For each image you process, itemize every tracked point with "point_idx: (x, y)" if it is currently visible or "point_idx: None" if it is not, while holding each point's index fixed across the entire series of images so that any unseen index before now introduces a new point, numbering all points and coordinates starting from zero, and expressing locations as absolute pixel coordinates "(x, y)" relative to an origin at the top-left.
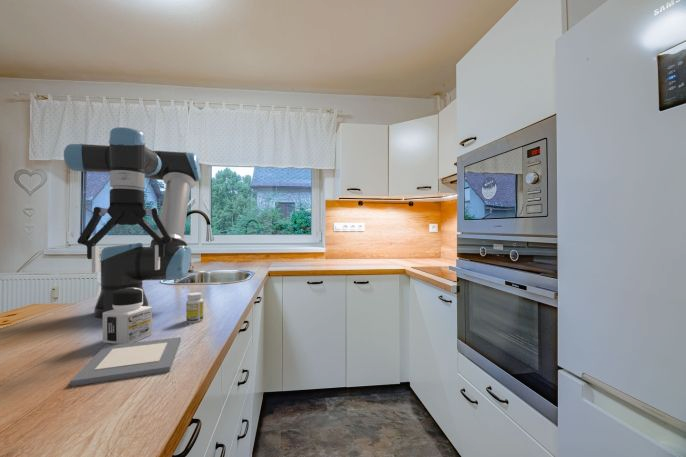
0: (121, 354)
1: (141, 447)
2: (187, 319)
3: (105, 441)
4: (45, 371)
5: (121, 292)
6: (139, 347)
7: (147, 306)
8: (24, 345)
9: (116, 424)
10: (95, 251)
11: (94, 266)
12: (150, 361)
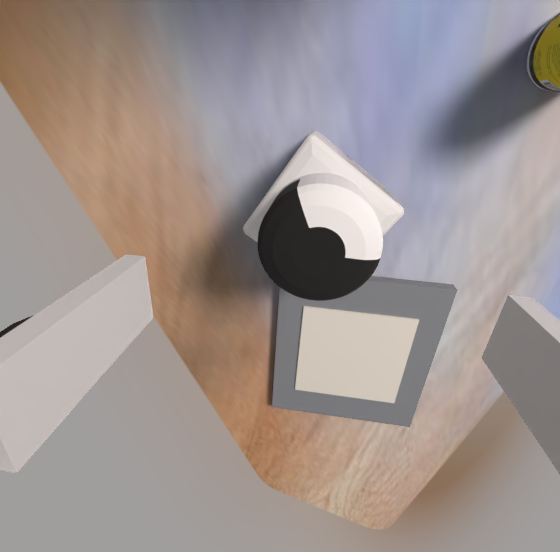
0: (326, 346)
1: (370, 525)
2: (533, 69)
3: (341, 508)
4: (211, 330)
5: (299, 293)
6: (358, 323)
7: (388, 215)
8: (68, 131)
9: (346, 493)
10: (56, 425)
11: (127, 339)
12: (380, 400)
